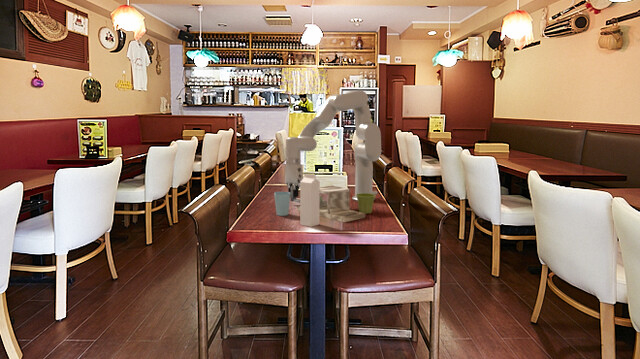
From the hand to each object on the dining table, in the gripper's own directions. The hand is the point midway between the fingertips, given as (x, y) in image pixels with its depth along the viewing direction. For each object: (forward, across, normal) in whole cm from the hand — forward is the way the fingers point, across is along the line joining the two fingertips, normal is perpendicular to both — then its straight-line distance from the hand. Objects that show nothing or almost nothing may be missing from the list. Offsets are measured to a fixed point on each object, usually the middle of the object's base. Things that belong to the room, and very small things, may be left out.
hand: (293, 196), depth 242 cm
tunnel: (+5, -28, 0) cm, 28 cm away
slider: (+2, -10, 0) cm, 10 cm away
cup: (+5, -14, +18) cm, 23 cm away
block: (+3, -17, 0) cm, 17 cm away
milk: (+5, -37, +21) cm, 43 cm away
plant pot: (+5, -37, -15) cm, 40 cm away
